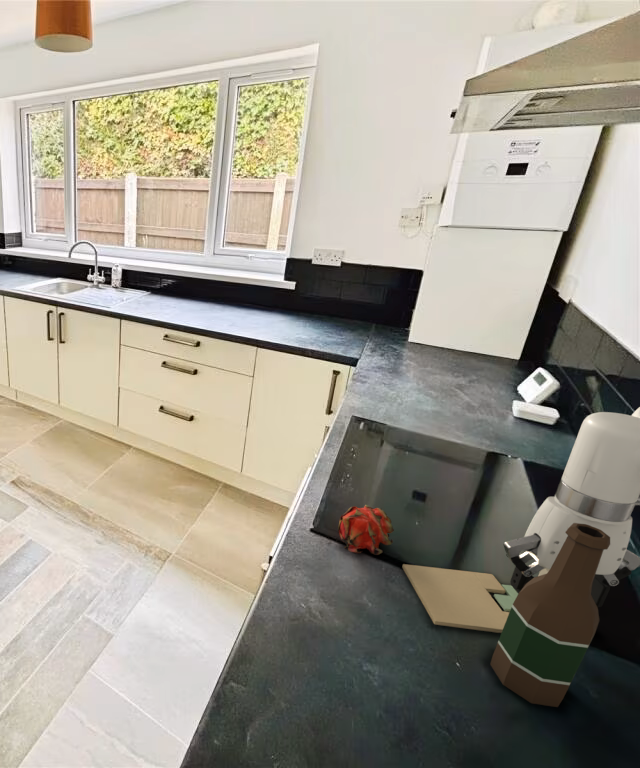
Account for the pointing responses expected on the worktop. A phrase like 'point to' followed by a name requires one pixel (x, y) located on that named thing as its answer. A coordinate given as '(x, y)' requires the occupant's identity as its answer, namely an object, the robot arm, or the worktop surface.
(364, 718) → the worktop surface
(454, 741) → the worktop surface
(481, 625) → the sand mat
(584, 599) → the beer bottle
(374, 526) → the dragon fruit
